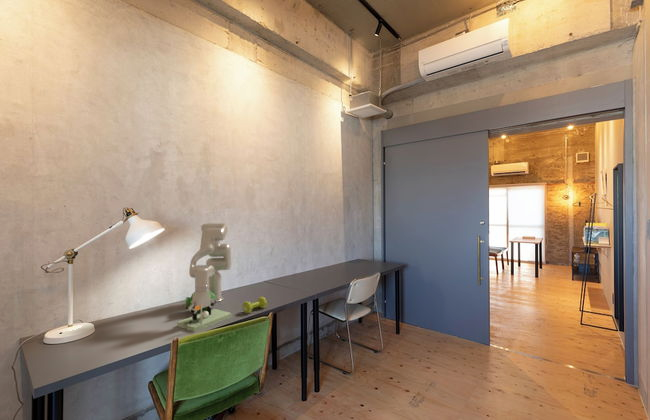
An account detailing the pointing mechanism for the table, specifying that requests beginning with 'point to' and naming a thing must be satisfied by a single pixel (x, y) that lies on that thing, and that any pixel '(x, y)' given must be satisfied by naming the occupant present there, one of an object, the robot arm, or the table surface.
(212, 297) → the piggy bank
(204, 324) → the green
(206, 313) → the ball
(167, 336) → the table surface
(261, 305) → the dumbbell
